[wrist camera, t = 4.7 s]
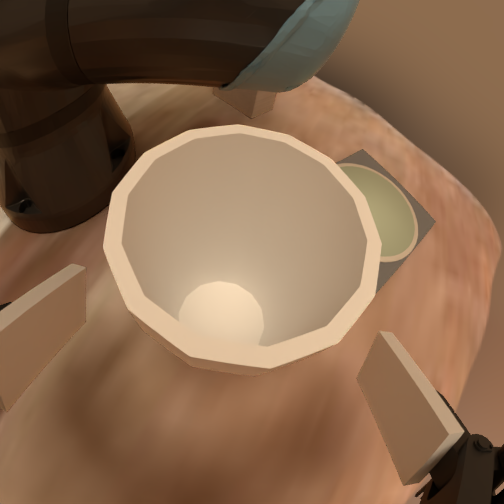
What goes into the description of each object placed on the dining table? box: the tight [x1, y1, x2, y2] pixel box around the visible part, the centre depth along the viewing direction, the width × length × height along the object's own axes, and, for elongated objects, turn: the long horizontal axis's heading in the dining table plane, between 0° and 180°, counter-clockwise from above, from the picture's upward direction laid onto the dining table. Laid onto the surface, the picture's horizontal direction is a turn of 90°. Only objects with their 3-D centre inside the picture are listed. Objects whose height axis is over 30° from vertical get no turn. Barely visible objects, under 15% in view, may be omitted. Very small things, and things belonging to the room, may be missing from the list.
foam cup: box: [103, 124, 382, 377], centre depth 15 cm, size 10×9×13 cm
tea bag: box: [213, 87, 276, 119], centre depth 30 cm, size 4×7×10 cm, turn 46°
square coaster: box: [336, 149, 436, 294], centre depth 28 cm, size 12×14×1 cm
